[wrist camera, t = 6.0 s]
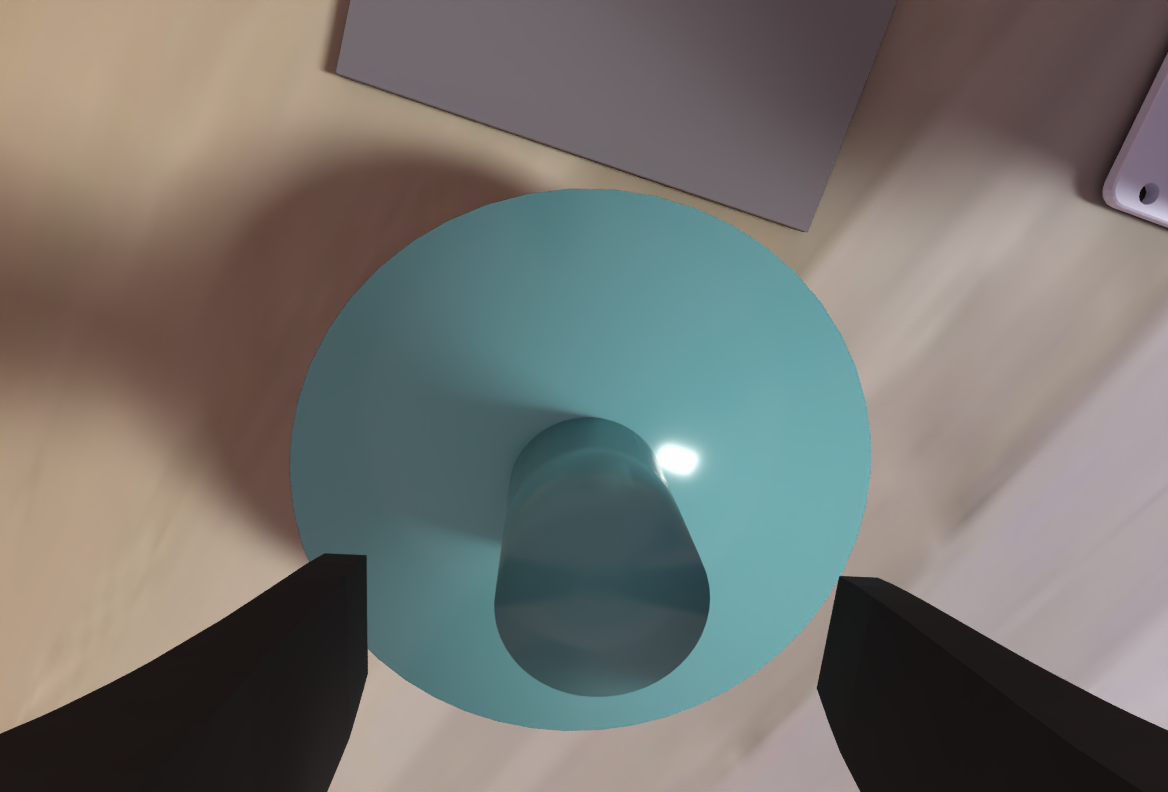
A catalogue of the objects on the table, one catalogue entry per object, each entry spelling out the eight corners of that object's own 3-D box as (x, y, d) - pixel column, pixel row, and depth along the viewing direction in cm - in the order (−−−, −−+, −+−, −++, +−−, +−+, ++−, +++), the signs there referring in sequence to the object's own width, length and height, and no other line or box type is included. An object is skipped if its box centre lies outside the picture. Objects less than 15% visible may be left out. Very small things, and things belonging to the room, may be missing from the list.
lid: (904, 216, 14) (1099, 222, 9) (804, 713, 17) (907, 916, 12) (294, 162, 13) (143, 136, 8) (309, 698, 16) (208, 909, 11)
